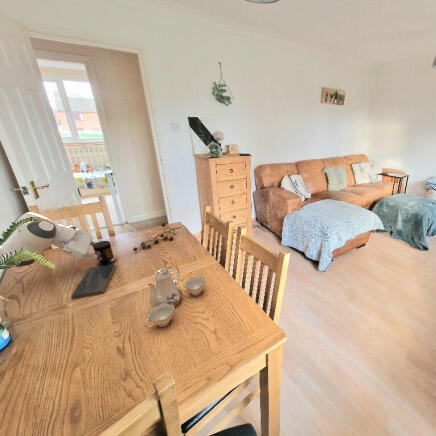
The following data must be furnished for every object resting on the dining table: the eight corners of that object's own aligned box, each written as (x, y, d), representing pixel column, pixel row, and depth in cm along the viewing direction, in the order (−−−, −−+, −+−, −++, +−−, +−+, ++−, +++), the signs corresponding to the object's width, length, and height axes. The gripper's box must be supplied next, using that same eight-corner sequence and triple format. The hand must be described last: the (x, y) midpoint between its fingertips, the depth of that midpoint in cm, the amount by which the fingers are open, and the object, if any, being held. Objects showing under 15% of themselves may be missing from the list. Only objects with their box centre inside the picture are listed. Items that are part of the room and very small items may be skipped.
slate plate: (72, 298, 94) (71, 295, 93) (90, 270, 111) (89, 267, 110) (103, 293, 97) (102, 290, 97) (115, 266, 114) (114, 264, 114)
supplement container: (101, 259, 119) (96, 241, 115) (117, 258, 121) (112, 240, 117) (95, 267, 113) (89, 248, 109) (112, 265, 115) (106, 246, 111)
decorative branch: (131, 243, 123) (171, 213, 146) (129, 253, 128) (168, 222, 152) (150, 255, 124) (186, 223, 147) (147, 264, 129) (183, 232, 153)
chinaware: (166, 340, 80) (163, 303, 73) (124, 326, 83) (118, 288, 76) (211, 289, 105) (212, 257, 99) (178, 279, 108) (176, 247, 101)
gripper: (64, 242, 98) (100, 257, 106) (74, 224, 114) (104, 238, 122) (53, 254, 97) (90, 268, 106) (64, 234, 113) (96, 247, 122)
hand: (98, 252), depth 114 cm, fingers open, 8 cm apart
